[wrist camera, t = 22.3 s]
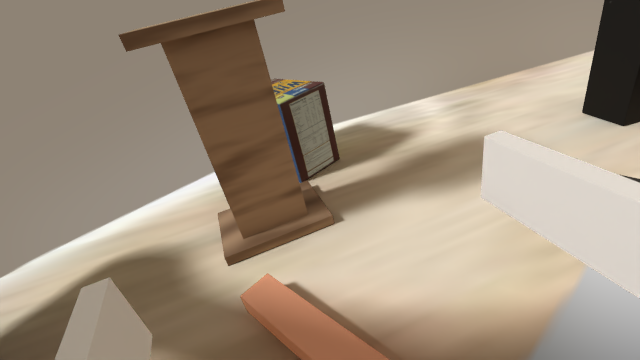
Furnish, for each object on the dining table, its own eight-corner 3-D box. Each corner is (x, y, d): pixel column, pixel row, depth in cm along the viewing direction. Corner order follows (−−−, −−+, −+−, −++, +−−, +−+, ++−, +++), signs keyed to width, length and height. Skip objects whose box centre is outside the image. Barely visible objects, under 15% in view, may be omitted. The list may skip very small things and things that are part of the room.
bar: (471, 437, 25) (472, 418, 23) (445, 491, 23) (444, 473, 21) (274, 290, 41) (267, 273, 40) (248, 313, 39) (240, 296, 37)
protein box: (292, 144, 77) (274, 77, 69) (340, 159, 66) (325, 81, 59) (256, 165, 72) (231, 95, 64) (301, 184, 61) (278, 102, 53)
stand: (334, 223, 49) (281, -5, 34) (228, 265, 46) (118, 34, 31) (309, 187, 59) (259, -1, 44) (220, 220, 56) (135, 29, 41)
